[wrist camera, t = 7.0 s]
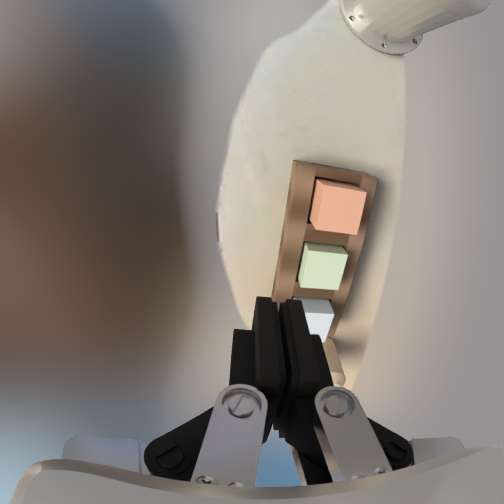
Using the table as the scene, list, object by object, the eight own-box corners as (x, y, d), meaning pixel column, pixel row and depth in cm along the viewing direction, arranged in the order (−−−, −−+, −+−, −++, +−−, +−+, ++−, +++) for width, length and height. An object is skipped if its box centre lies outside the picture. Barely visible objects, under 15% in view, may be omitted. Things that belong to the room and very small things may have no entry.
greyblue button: (292, 292, 39) (297, 311, 35) (326, 295, 39) (334, 314, 35) (286, 320, 41) (289, 341, 37) (318, 322, 41) (324, 342, 37)
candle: (327, 359, 48) (338, 401, 39) (299, 356, 48) (307, 400, 38) (338, 337, 46) (353, 380, 37) (309, 333, 45) (320, 378, 36)
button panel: (293, 160, 34) (298, 163, 30) (365, 173, 34) (377, 178, 31) (267, 317, 44) (268, 334, 40) (328, 321, 44) (333, 336, 41)
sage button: (302, 236, 37) (308, 250, 33) (338, 240, 37) (348, 254, 33) (295, 270, 39) (300, 287, 35) (329, 273, 39) (338, 290, 35)
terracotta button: (314, 177, 32) (324, 185, 28) (353, 184, 33) (366, 192, 28) (308, 217, 34) (315, 229, 30) (345, 222, 35) (357, 234, 31)
